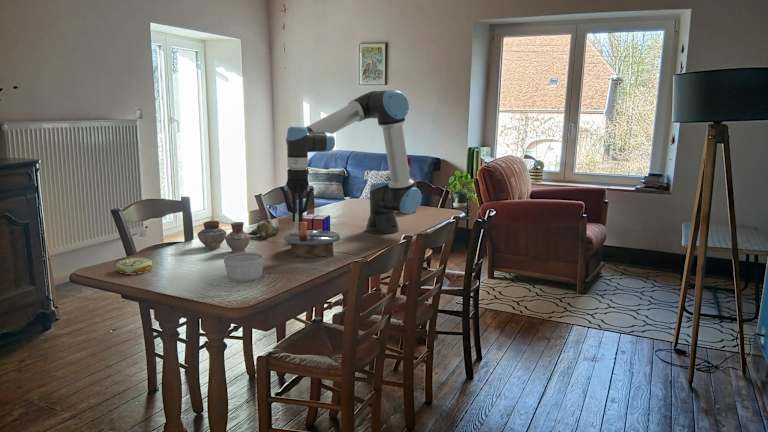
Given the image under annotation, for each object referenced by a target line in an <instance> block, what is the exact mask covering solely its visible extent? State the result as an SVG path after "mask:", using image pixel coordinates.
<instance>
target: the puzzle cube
mask: <svg viewBox="0 0 768 432" xmlns="http://www.w3.org/2000/svg"><path fill="white" fill-rule="evenodd" d="M302 222H307V230H319V229H322V230H325V231H331V216H330V214H311V213H310V214H307V215H305V216H304V217H303V221H302Z"/></svg>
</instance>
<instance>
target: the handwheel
mask: <svg viewBox="0 0 768 432" xmlns="http://www.w3.org/2000/svg"><path fill="white" fill-rule="evenodd" d="M340 238H341V235H340V233H338V232H336V231H332V230H330V231H325V230H322V229H319V230H307V222H299V231H292V232H289V233H286V234H284V236H283V241H284V242H285V243H287V244H290V245H291V244H294V245H324V244H330V243H333V244H334V243H336V242H338V241H340V240H341V239H340Z"/></svg>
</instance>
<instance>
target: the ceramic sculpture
mask: <svg viewBox="0 0 768 432" xmlns="http://www.w3.org/2000/svg"><path fill="white" fill-rule="evenodd" d="M256 225H257V226H256V228H253V229H252V230H251V231H249V232H247V233H248V234H249V235H250V236H251V237H252V236H258V235H259V236H260V237H262V238H269V237H270V236H271V235H278V234H279V233H280V228H281V227H280V223H279V220H278V218H277V217H275V218H272V219H270V218H269V217H265V218H264V220H262V221H259V222H258V223H257V224H256Z"/></svg>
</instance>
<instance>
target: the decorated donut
mask: <svg viewBox="0 0 768 432" xmlns="http://www.w3.org/2000/svg"><path fill="white" fill-rule="evenodd" d="M152 267H153V261H152V260H151V259H150V258H146V257H129V258H126V259H122V260H119V261H117V262H116V264H115V268H116V270H117V272H118V271H119V272H123V273H138V272H145V271H148V270H150V269H151V270H152V269H153V268H152ZM151 270H150V271H151ZM119 272H118V273H119ZM148 272H149V271H148Z"/></svg>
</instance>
